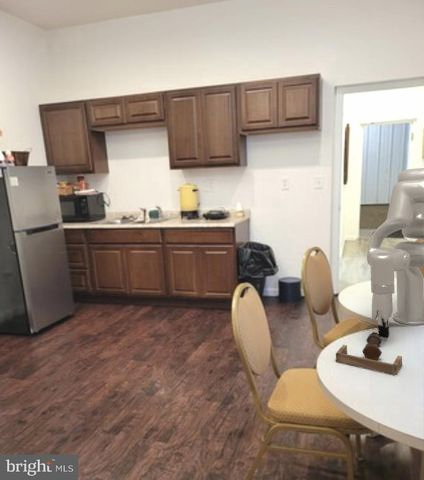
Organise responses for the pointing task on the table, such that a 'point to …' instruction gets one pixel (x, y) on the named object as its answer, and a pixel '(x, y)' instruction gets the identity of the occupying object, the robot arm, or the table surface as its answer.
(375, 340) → the bolt
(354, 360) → the bracket
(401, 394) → the table surface
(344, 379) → the table surface
